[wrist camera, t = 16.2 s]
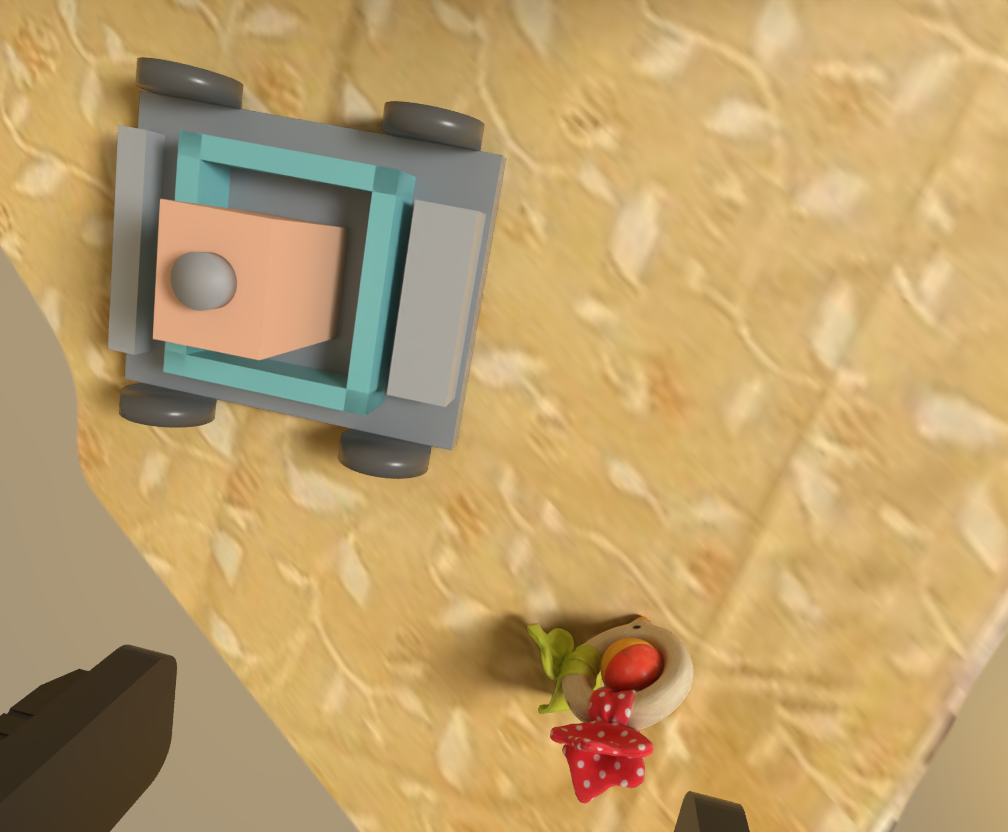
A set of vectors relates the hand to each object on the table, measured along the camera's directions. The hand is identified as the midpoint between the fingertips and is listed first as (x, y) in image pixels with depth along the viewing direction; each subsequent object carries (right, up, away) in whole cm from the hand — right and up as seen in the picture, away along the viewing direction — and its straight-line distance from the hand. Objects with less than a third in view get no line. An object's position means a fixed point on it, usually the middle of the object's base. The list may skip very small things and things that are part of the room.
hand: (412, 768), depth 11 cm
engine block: (-10, +13, +28) cm, 33 cm away
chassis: (-10, +13, +30) cm, 34 cm away
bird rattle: (+8, -8, +32) cm, 34 cm away
